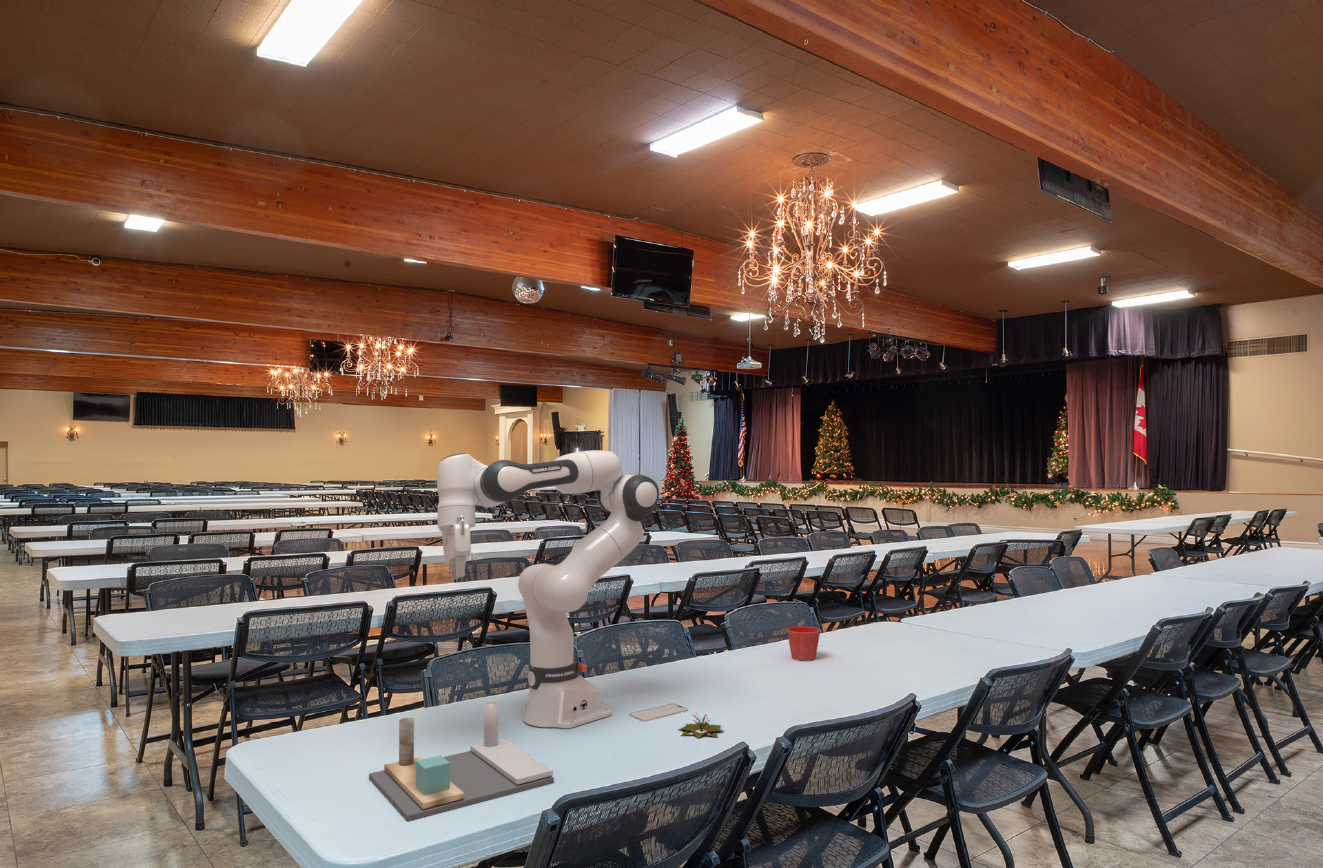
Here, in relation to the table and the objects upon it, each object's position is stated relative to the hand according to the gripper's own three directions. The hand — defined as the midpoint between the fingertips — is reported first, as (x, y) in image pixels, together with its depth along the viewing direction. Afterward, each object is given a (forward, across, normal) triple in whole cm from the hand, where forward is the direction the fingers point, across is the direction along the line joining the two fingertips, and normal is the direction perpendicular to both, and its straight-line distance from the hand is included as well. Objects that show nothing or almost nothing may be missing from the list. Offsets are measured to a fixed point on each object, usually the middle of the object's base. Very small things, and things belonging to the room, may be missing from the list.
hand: (457, 578), depth 189 cm
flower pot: (+31, +44, -118) cm, 130 cm away
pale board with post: (+40, -15, -8) cm, 44 cm away
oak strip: (+41, -19, +10) cm, 46 cm away
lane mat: (+42, -17, +2) cm, 45 cm away
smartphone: (+38, +9, -52) cm, 65 cm away
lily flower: (+41, -8, -56) cm, 70 cm away
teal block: (+41, -25, +9) cm, 49 cm away
